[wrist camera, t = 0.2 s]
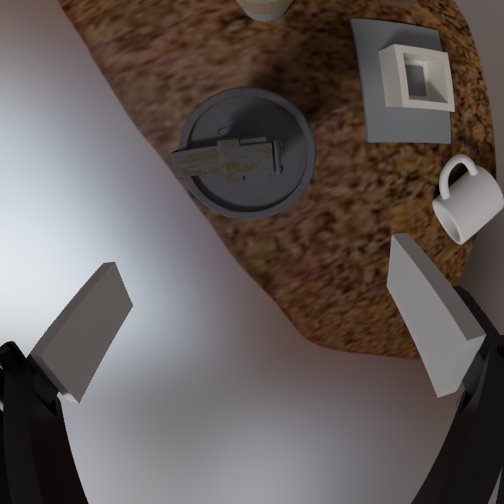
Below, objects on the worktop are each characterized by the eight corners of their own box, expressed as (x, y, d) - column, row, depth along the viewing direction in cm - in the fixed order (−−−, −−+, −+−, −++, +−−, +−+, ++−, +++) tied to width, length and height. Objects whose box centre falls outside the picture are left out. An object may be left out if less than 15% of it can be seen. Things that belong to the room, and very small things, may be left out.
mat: (349, 19, 26) (350, 18, 26) (435, 31, 25) (437, 30, 24) (366, 141, 35) (368, 142, 34) (448, 142, 33) (450, 143, 32)
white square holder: (378, 51, 28) (393, 44, 23) (427, 57, 26) (447, 53, 22) (385, 106, 31) (402, 107, 26) (433, 109, 30) (454, 111, 25)
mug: (481, 198, 36) (508, 216, 29) (442, 231, 40) (467, 253, 33) (456, 138, 32) (487, 148, 25) (413, 172, 36) (440, 187, 29)
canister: (292, 94, 33) (315, 76, 15) (299, 170, 37) (325, 228, 20) (210, 104, 34) (148, 100, 16) (220, 177, 39) (176, 240, 21)
